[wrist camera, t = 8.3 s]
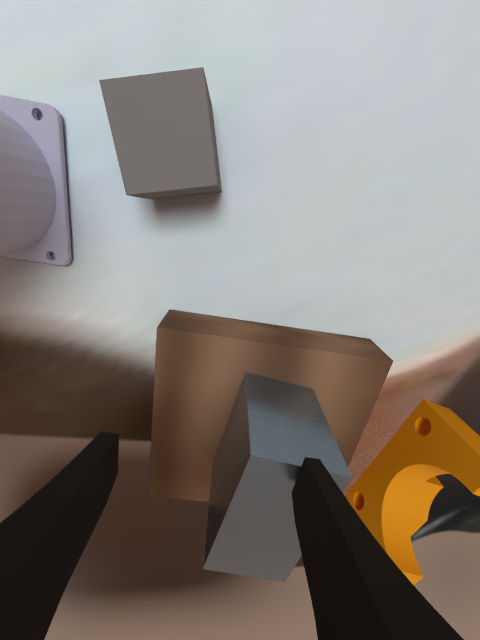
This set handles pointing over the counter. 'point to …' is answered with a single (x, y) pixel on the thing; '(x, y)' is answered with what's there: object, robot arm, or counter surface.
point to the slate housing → (265, 477)
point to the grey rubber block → (163, 133)
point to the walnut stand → (226, 378)
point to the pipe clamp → (414, 479)
